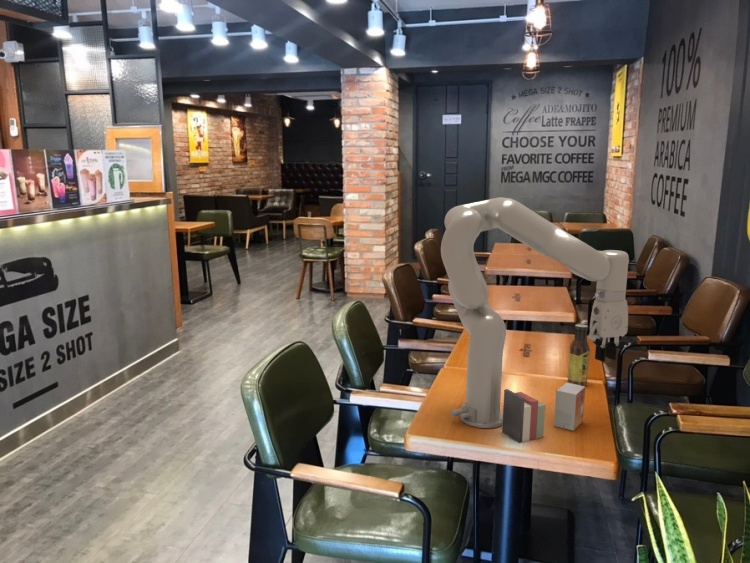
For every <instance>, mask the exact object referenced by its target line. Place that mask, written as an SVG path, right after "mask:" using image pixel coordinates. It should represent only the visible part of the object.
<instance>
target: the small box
mask: <svg viewBox="0 0 750 563" xmlns="http://www.w3.org/2000/svg"><path fill="white" fill-rule="evenodd" d="M585 396H586V386H580V385H576V384H571V383H568V382H565V383H564V384H563V385H562V386H560V387H559V388H557V389H556V391H555V403H554V404H555V406H554V418H553V419H554V421H553V426H554V427H557V428H561V429H564V430H568V431H569V430H570V431H571V432H572V431H573V432H574V431H575V430H576V429H577V428H578V427H579V426H581V424H582V423H583V420H584V410H585V406H584V405H585V398H586V397H585Z"/></svg>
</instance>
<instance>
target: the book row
mask: <svg viewBox="0 0 750 563" xmlns="http://www.w3.org/2000/svg"><path fill="white" fill-rule="evenodd" d="M502 413H503V425H501V426H502V430H501V433H503V434H504V435H506V436H508V437H509V438H510V439H512V440H514V441H516V442H517V443H518V444H522V443H524V442H525V443H526V442H529V441H532V440H538V439H541V438H544V434H545V433H544V432H545V420H546V419H545V417H546V416H545V414H546V403H545V404H544V403H542V401H539V400H538V399H536V398H534V397H531V396H530V395H528V394H526V393H524V392H522V391H518V392H517V391H516V392H513V391H512V390H509V389H508V388H506V389H504V390H503V408H502Z"/></svg>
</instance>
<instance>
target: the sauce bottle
mask: <svg viewBox="0 0 750 563" xmlns="http://www.w3.org/2000/svg"><path fill="white" fill-rule="evenodd" d="M588 331H589V325H586V324H581V323H580V324H577V323H576V324H574V337H573V338H574V339H573V340H572V341H571V343H570V346H569V355H568V365H567V366H568V367H567V383H571V384H576V385H580V386H584V387H586V386H587V384H588V383H587V382H588V376H589V366H590V365H589V364H590V356H591V355H590V353H591V349H590V346H589V343H588Z"/></svg>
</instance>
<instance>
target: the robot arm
mask: <svg viewBox="0 0 750 563" xmlns="http://www.w3.org/2000/svg"><path fill="white" fill-rule="evenodd" d="M444 227H445V231H444V234H443V236H442V239H441V245H440V256H441V260H442V264H443V266H444V268H445V272H446V274H447V277H448V279H449V280H448V282H447V283H448V284H447V285H448V286H447V287H448V288H447V289H448V292H449V296H450V298H451V301H452V303H453V306H454V307H455V311H456V313H457V315H458V317H459V319H460V321H461V324H462V326H463V327H464V329H465V330H466V332H467V333H468V334H469V343H468V349H467V361H466V367H467V368H466V384H465V385H466V386H465V387H466V390H465V394H466V395H465V402H463V403H462V404H461V405H462V406H461V407H460V408H458V409H457V408H455V409H451V410H450V416H451V417H453V418H454V417H459V419H460V420H461V422H462V423H464V424H465V425H468V426H470V427H474V428H478V429H479V428H480V429H493V428H498V427H501V426H502V425H503V411H501V400H502V399H501V397H502V376H503V357H504V346H505V343H506V342H505V341H506V336H507V327H506V323H505V322H504V320H503V318H502V316H500V314H499V313H498V312H497V311H495V309H493V308H492V306H491V303H490V302H489V300H488V299H489V295H490V294H489V287H488V284H487V283H486V280H485V278H484V276H483V273H482V271H481V269H480V266H479V264H478V261H477V258H476V255H475V251H474V247H475V246H474V244H475V242H476V240H477V238H478V237H479V235H480V233H482V232H486V231H491V230H494V229H499V230H500V231H502V232H504V233H506V234H508V235H509V236H510V237H512V238H514V239H515V240H516V241H518V242H520V243H522V244H523V245H524V246H526V247H528V248H530V249H532V250H533V251H535V252H536V253H538V254H540V255H542V256H544V257H548V258H550V259H552V260H554V261H557V262H559V263H560V264H562V265H564V266H566V267H567V268H568V270H569V271H570V272H571V273H572V274H574V275H575V276H578V277H579V278H583V279H585V280H587V281H590V282H596V290H595V291H596V292H595V293H594V296H595V299H594V301H593V305H592V311H591V314H590V315H591V316H590V322H589V334H587V340H590V341H592V343H593V345H594V346H595V352H594V353H595V354H594V359H595V360H597V361H599V362H602V363H604V362H605V361H606V358H607V359H610V360H612V361H615V360H616V359H617V349H618V346H619V344H620V341H621V340H622V339H623V337H624V336H626V335H627V333H628V329H629V328H628V327H629V307H628V301H627V299H626V293H627V291H626V290H627V281H628V270H629V254H628V253H627V251H623V250H620V249H619V250H615V249H606V250H597V249H595V248H594V247H592V246H591V245H589V244H587V243H586V242H584V241H582V240H581V239H579V238H577V237H575V236H574V235H572V234H570V233H568V232H567V231H565V230H564V229H563V228H561V227H560V226H557V225H556V224H554V223H552V222H551V221H549V220H547V219H546V218H544V217H543V216H541V215H539V214H538V213H536V212H535V211H534V210H532V209H530V208H528V207H527V206H525V205H524V204H523V203H521V202H519V201H517V200H515V199H513V198H509V197H501V196H499V197H495V198H490V199H484V200H479V201H476V202H475V201H474V202H470V203H466V204H460V205H456V206H454V207H452V208H450V209H449V210H448V211H447V213H446V215H445V217H444ZM606 341H607V343H606Z"/></svg>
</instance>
